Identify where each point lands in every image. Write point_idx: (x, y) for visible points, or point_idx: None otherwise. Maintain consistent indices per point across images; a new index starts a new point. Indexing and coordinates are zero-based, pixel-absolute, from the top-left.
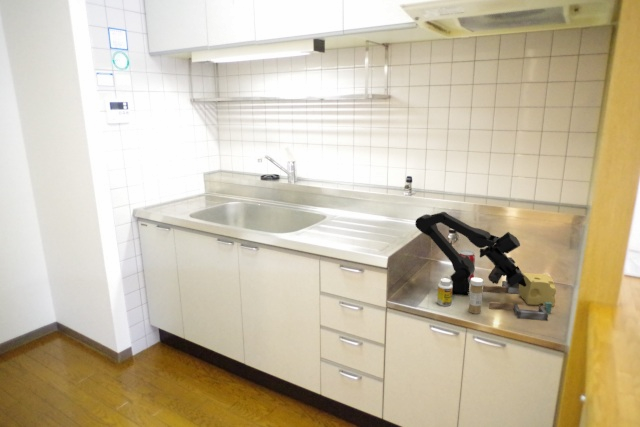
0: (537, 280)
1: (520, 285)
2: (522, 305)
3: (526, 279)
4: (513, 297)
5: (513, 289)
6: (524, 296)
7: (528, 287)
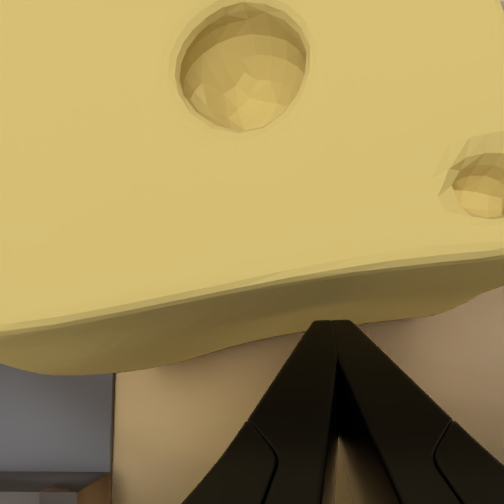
0: (415, 71)
1: (145, 367)
2: (421, 370)
3: (245, 300)
4: (217, 430)
5: (9, 387)
6: (303, 329)
7: (424, 296)
